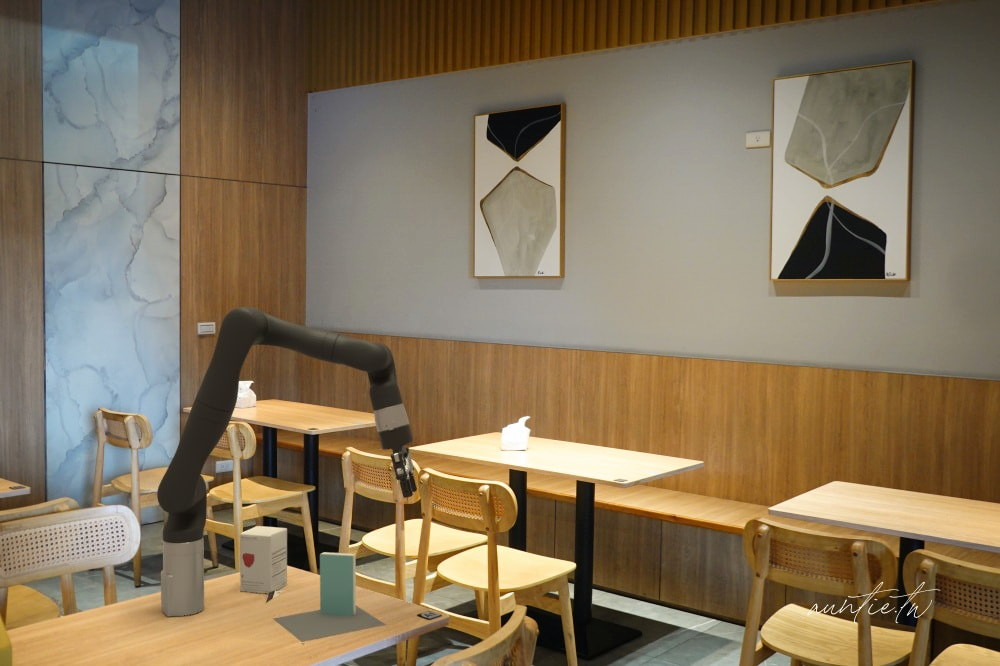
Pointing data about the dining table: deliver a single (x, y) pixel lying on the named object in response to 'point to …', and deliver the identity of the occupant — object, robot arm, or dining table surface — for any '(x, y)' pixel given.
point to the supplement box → (263, 559)
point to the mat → (326, 624)
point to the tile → (337, 584)
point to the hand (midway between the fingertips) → (410, 494)
